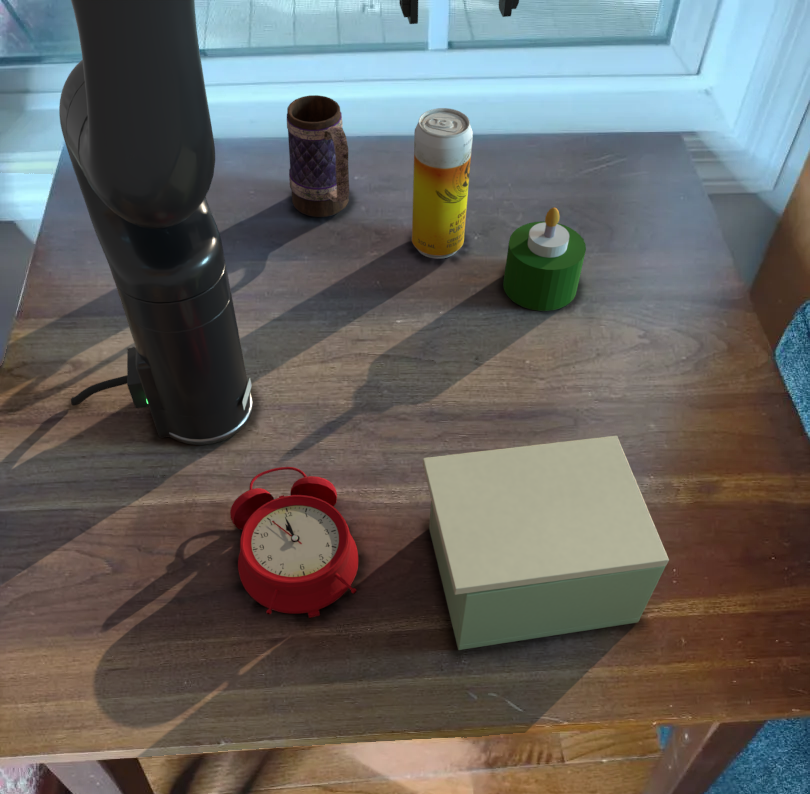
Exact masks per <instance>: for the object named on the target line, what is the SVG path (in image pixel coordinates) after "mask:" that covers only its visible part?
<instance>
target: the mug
mask: <svg viewBox="0 0 810 794" xmlns="http://www.w3.org/2000/svg"><path fill="white" fill-rule="evenodd" d="M343 127H344V125H343V115H342V111H341V106H340V104H339V103H338V102H337V101H336V100H335V99H333V98H331V97H328V96H324V95H318V94H315V95H314V94H313V95H312V94H309V95H305V96H300V97H298V98H296V99H294V100H293V101H292V102H290V103H289V105H288V106H287V109H286V129H287V136H288V137H287V139H288V153H289V169H288V172H289V173H288V179H289V188H290V190H291V203H292V205H293V206H294V208H295V209H296V210H297V211H298V212H300V213H301V214H303V215H306V216H309V217H313V218H327V217H332V216H334V215H336V214H339V213H340V212H341V211H342V210H343V209H345V208H346V207H347V206H348V204H349V202H350V199H349V198H350V197H349V196H350V174H349V146H348V140H347V135H346V133H345V130H344V128H343Z"/></svg>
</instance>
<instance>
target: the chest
mask: <svg viewBox="0 0 810 794" xmlns="http://www.w3.org/2000/svg"><path fill="white" fill-rule="evenodd" d="M428 529H429V533H430V539H431V541H432V546H433V550H434V554H435V559H436V562H437V567H438V571H439V575H440V579H441V584H442V588H443V592H444V596H445V600H446V605H447V609H448V613H449V617H450V621H451V622H450V623H451V625H452V629H453V634H454V638H455V642H456V646H457V650H458V651H463V650H467V649H475V648H480V647H487V646H494V645H501V644H506V643H514V642H518V641H528V640H532V639H539V638H540V639H541V638H546V637H552V636H558V635H565V634H572V633H578V632H579V633H580V632H584V631H590V630H592V631H593V630H597V629H604V628H611V627H616V626H623V625H629V624H637V623H639V621H640V619H641V617H642V615H643V613H644V611H645V609H646V607H647V605H648V603H649V601H650V599H651V597H652V595H653V593H654V591H655V589H656V587H657V585H658V583H659V580H660V578H661V577H662V574H663V572H664V571H665V568H666V566H661V567H654V568H647V569H639V570H632V571H625V572H617V573H610V574H603V575H596V576H588V577H581V578H574V579H567V580H559V581H552V582H545V583H537V584H530V585H523V586H516V587H508V588H501V589H494V590H486V591H479V592H472V593H465V594H457V595H455V594H454V590H453V586H452V582H451V577H450V573H449V569H448V565H447V561H446V557H445V553H444V549H443V545H442V541H441V537H440V533H439V529H438V525H437V521H436V517H435V512H434V508H433V504H432V500H431V499H430V510H429V525H428Z"/></svg>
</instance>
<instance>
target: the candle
mask: <svg viewBox="0 0 810 794" xmlns="http://www.w3.org/2000/svg"><path fill="white" fill-rule="evenodd" d="M559 222H560V212H559V210H558V208H557V207H551V208H549V210H548V211H547V213H546V215H545V218H544V220H543V221H533V222H528V223H525V224H522V225H521V226H518V227H517V228H516V229H515V230H514V231H513V232H512V233H511V234H510V237H509V239H508V246H507V252H506V253H507V254H506V261H505V268H504V275H503V276H504V277H503V281H502V282H503V283H502V284H503V290H504V292H505V294H506V296H507V297H508V298H509V299H510V300H511V301H512V302H514V303H515V304H516V305H518V306H521V307H523V308H525V309H528V310H533V311H538V312H550V311H555V310H559V309H562V308H564V307H566V306H568V305H570V303H571V302H573V301H574V299H575V297H576V295H577V291H578V286H579V283H580V279H581V278H580V277H581V274H582V269H583V265H584V260H585V256H586V251H587V245H586V242H585V239H584V238H583V237H582V236H581V234H579V233H578V232H577V231H576V230H575V229H573V228H571V227H570V226H567V225H565V224H562V223H559Z"/></svg>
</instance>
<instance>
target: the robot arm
mask: <svg viewBox="0 0 810 794" xmlns="http://www.w3.org/2000/svg"><path fill="white" fill-rule="evenodd" d="M70 2H71V7H72V9H73V13H74V17H75V23H76V28H77V33H78V38H79V44H80V50H81V51H80V52H81V58H82V59H81V60H80V61H79V62H78V63H76V65H75V66H74V67H73V68H72V70H71V71H70V73H69V74H68V76H67V78H66V80H65V81H64V84H63V86H62V90H61V94H60V98H59V107H58V108H59V111H58V115H59V123H60V129H61V133H62V137H63V140H64V143H65V146H66V147H65V148H66V150H67V153H68V156H69V159H70V162H71V165H72V168H73V171H74V174H75V177H76V179H77V182H78V187H79V188H80V192H81V194H82V197H83V200H84V204H85V205H86V206H85V207H86V209H87V212H88V215H89V218H90V221H91V224H92V227H93V229H94V232H95V235H96V237H97V240H98V242H99V245H100V246H101V249H102V252H103V254H104V257H105V259H106V262H107V265H108V267H109V270H110V273H111V275H112V276H111V277H112V279H113V282H114V284H115V287H116V290H117V293H118V296H119V300H120V303H121V306H122V309H123V311H124V315H125V318H126V321H127V324H128V325H127V326H128V327H129V331H130V334H131V338H132V341H133V343H134V344H133V345H134V346H135V347H134V346H133V347H128V348H127V349H126V355H127V357H126V358H127V360H126V362H127V363H126V365H127V366H126V368H127V369H126V375H123V376H119V377H115V378H111V379H108V380H104V381H101V382H97V383H95V384H92V385H90V386H88V387H85V388H84V389H83V390H81V391H80V392H79V393H78V394H76V395H75V396H71V399H70V403H71V404H70V405H72V406H78V405H79V404H82V403H83V402H84V401H86V399H88V398H89V397H91V396H92V395H95V394H96V393H100V392H102V391H105V390H108V389H111V388H116V387H120V386H124V385H127V388H128V391H129V394H130V397H131V400H132V404H133V405H134V408H135V409H144V408H149V411H150V415H151V417H152V420H153V423H154V426H155V429H156V432H157V435H158V438H161V439H163V438H171V439H173V440H175V441H178V442H180V443H183V444H187V445H193V446H194V445H195V446H198V445H199V446H202V445H211V444H216V443H220V442H222V441H225V440H227V439H230V438H231V437H233V436H235V435H236V434H237V433H239V432H240V431H241V430H243V428H245V426H246V425H247V424H248V422H249V420H250V419H251V417H252V413H253V407H254V406H253V404H254V403H253V397H252V393H251V390H252V380H251V378H249V379H248V376H247V370H246V366H245V365H246V364H245V360H244V355H243V349H242V344H241V338H240V334H239V333H240V332H239V328H238V322H237V317H236V311H235V307H234V301H233V294H232V290H231V285H230V279H229V274H228V268H227V263H226V258H225V253H224V247H223V242H222V237H221V234H220V230H219V228H218V225H217V223H216V221H215V218H214V215H213V213H212V210H211V208H210V206H209V203H208V200H207V195H208V193H209V192H210V191H209V190H210V189H211V184H212V181H213V179H214V173H215V167H216V166H215V165H216V147H215V139H214V133H213V127H212V121H211V120H212V119H211V114H210V108H209V102H208V96H207V89H206V83H205V77H204V71H203V70H204V69H203V65H202V64H203V63H202V57H201V51H200V44H199V43H200V42H199V37H198V28H197V27H198V26H197V15H196V4H195V3H196V1H195V0H70ZM519 3H520V0H498V10H499V12H500V15H501V16H502V18H506V17H507V18H508V17H511V16H512V11H513V10H517V9H518V6H519ZM398 5H399V8H400V9H401V13H402V15H403V18H407V21H408V23H409V24H408V25H416V24H419V0H399V3H398Z"/></svg>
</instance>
